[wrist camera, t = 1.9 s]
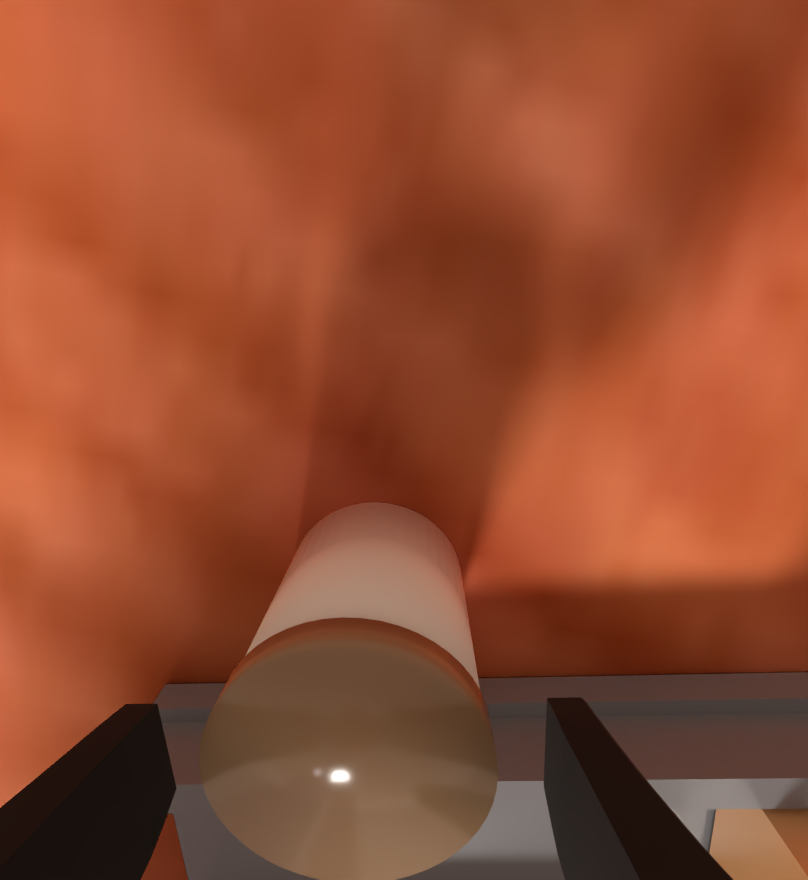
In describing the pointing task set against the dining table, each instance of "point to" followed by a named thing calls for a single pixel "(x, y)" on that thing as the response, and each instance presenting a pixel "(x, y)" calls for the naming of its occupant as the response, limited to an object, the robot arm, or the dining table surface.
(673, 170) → the dining table surface
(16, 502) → the dining table surface
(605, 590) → the dining table surface
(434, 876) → the lane tray
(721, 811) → the pusher plate
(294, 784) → the jar
